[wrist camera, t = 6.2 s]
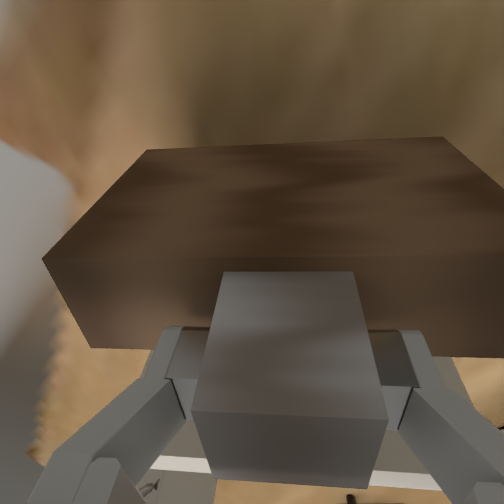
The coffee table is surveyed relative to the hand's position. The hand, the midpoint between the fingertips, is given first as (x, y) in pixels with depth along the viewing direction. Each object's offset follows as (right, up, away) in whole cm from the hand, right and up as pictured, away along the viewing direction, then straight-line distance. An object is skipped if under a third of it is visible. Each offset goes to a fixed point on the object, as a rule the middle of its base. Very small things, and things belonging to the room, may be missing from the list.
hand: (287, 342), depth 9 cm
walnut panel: (+1, +6, +8) cm, 10 cm away
